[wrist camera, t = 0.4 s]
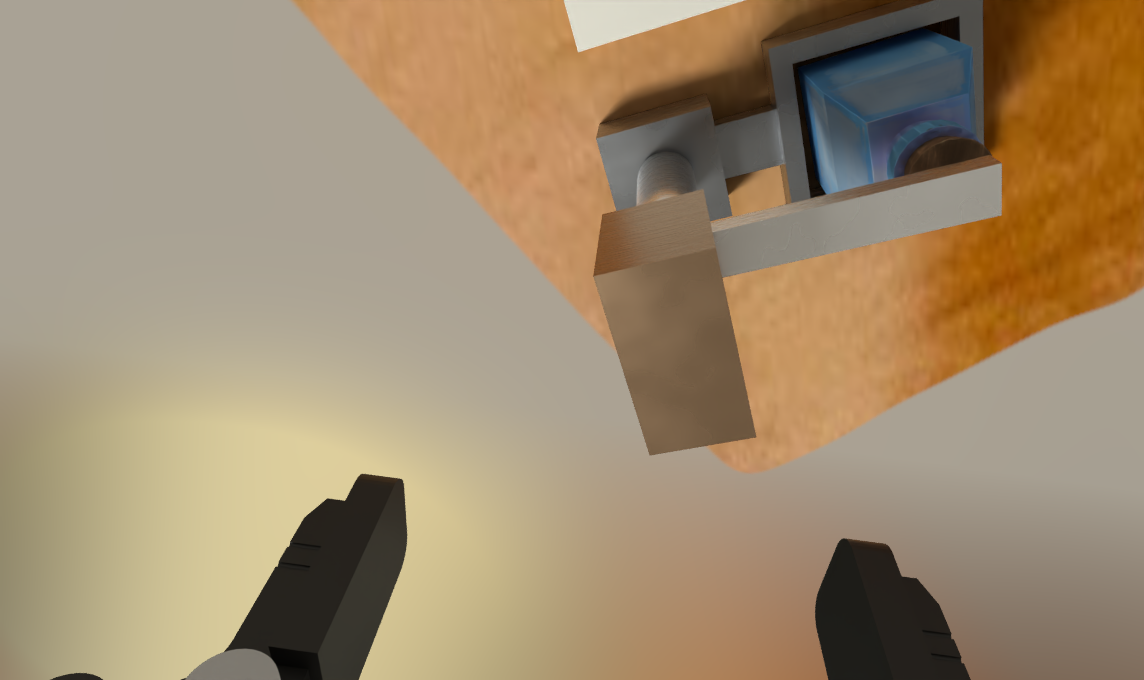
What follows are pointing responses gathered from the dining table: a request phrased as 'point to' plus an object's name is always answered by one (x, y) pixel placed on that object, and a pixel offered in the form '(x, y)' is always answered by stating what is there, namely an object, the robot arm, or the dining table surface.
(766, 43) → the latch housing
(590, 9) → the pad
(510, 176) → the dining table surface
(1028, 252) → the dining table surface
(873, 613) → the robot arm
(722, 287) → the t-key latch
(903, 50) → the perfume bottle
